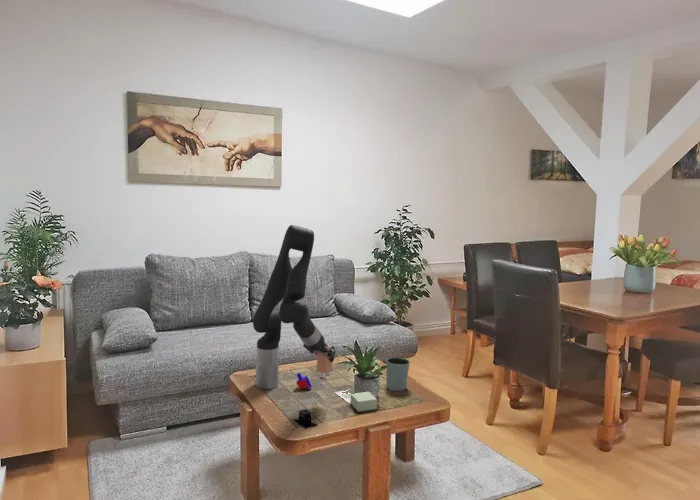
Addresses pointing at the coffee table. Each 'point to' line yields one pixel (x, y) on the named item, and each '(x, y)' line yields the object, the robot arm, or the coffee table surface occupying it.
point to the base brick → (363, 401)
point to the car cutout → (324, 375)
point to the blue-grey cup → (397, 373)
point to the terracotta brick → (323, 363)
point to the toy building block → (303, 382)
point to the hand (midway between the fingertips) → (327, 358)
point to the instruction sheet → (344, 395)
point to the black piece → (305, 419)
